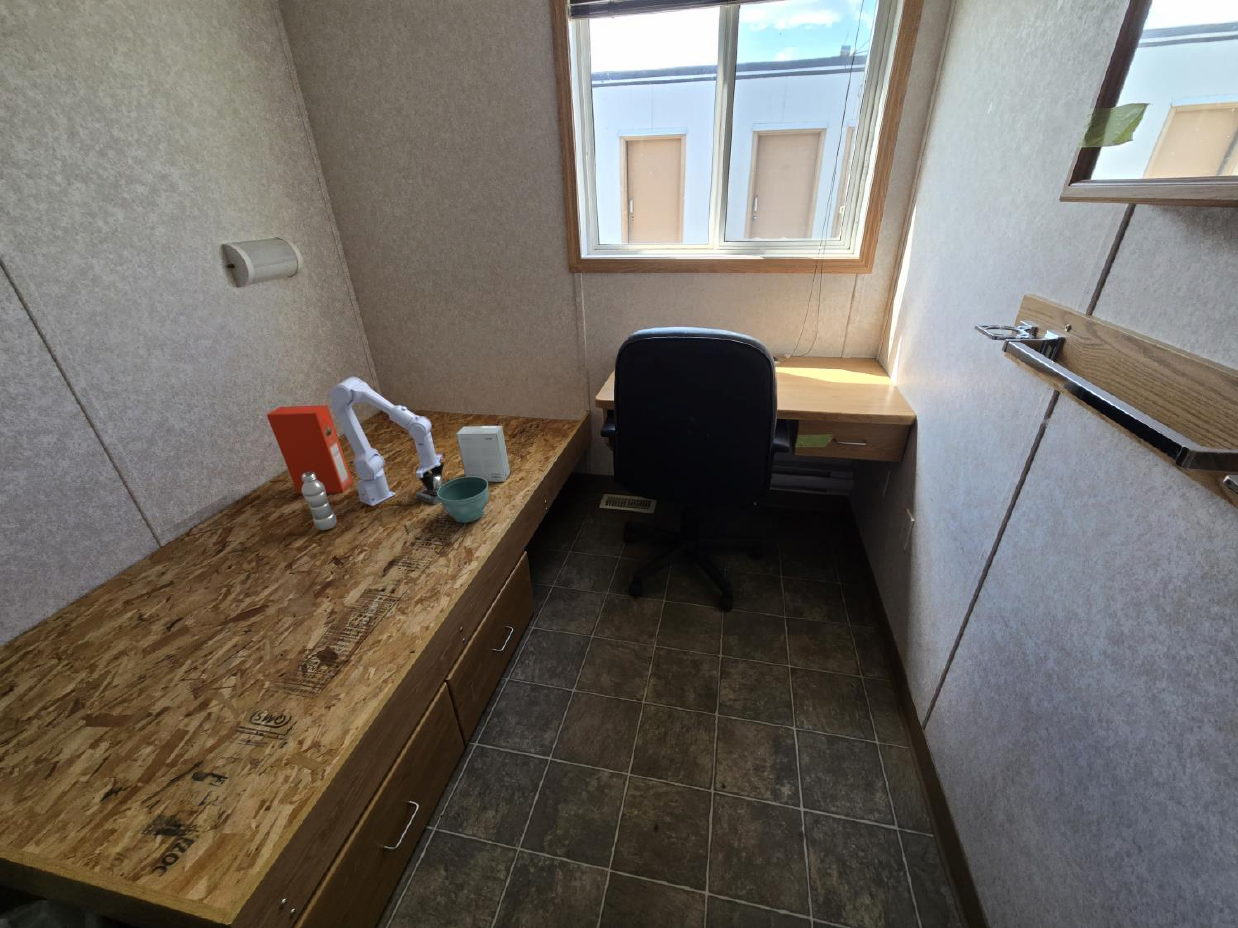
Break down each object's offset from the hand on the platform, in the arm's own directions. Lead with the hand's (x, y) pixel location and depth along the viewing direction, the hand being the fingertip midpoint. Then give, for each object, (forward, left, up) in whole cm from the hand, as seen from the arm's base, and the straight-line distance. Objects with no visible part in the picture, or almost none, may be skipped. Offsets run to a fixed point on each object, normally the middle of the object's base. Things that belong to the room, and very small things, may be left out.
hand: (434, 485), depth 180 cm
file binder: (-17, +43, -4) cm, 46 cm away
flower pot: (-4, -21, -4) cm, 22 cm away
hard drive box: (+19, -7, -4) cm, 21 cm away
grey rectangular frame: (0, 0, -4) cm, 4 cm away
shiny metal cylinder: (0, 0, -2) cm, 2 cm away
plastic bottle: (-32, +16, -4) cm, 36 cm away
